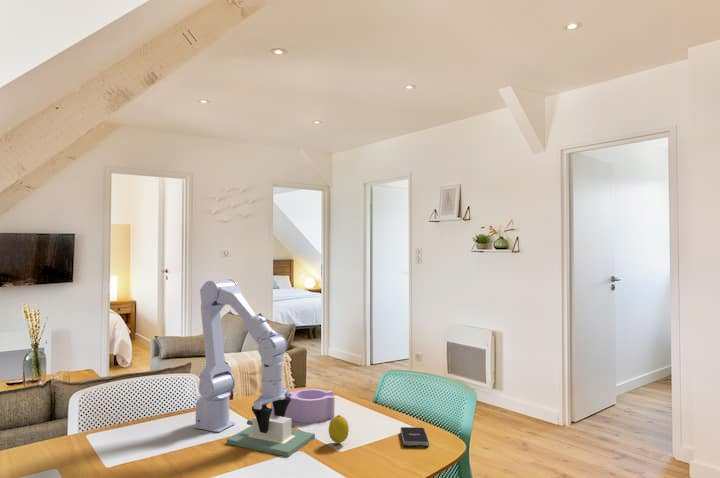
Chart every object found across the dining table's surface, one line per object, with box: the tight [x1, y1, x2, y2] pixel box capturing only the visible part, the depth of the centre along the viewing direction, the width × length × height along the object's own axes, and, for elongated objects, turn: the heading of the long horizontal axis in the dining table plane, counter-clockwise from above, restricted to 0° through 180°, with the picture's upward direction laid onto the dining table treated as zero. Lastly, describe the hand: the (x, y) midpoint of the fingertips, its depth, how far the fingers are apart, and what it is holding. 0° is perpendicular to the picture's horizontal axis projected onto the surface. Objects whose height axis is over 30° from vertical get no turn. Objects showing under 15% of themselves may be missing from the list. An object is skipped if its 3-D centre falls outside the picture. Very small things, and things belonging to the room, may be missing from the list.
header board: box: [226, 425, 316, 458], centre depth 138 cm, size 20×14×4 cm
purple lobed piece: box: [270, 388, 336, 423], centre depth 159 cm, size 20×12×7 cm, turn 97°
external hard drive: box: [400, 426, 430, 449], centre depth 140 cm, size 7×11×2 cm, turn 0°
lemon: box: [328, 414, 350, 445], centre depth 136 cm, size 6×6×8 cm
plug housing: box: [246, 415, 292, 442], centre depth 138 cm, size 13×4×5 cm, turn 66°
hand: (271, 427), depth 138 cm, fingers open, 7 cm apart
